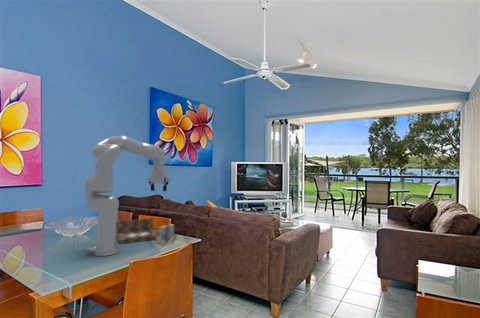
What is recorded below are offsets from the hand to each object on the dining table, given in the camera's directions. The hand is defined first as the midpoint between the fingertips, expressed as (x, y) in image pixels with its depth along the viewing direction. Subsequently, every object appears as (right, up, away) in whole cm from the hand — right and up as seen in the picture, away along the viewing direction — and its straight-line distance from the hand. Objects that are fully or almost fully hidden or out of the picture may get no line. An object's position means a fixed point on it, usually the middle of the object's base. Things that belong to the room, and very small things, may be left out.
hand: (158, 191), depth 189 cm
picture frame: (+10, -30, -19) cm, 37 cm away
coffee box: (-33, -31, -1) cm, 45 cm away
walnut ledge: (-11, -30, -11) cm, 34 cm away
